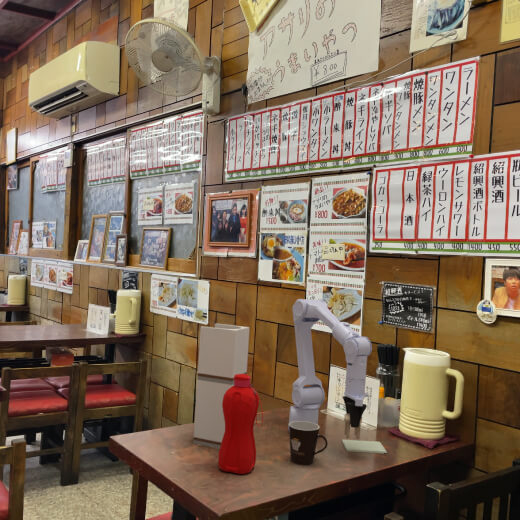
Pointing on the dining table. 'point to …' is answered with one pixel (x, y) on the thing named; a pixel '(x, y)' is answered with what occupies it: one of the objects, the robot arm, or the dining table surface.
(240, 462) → the water bottle
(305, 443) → the coffee mug
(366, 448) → the rubber mat
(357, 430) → the wooden stool
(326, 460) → the dining table surface
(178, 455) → the dining table surface
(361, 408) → the robot arm
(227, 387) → the grey tall box
